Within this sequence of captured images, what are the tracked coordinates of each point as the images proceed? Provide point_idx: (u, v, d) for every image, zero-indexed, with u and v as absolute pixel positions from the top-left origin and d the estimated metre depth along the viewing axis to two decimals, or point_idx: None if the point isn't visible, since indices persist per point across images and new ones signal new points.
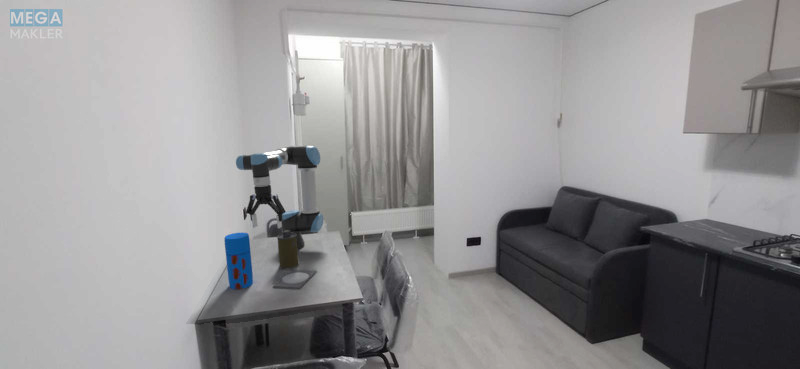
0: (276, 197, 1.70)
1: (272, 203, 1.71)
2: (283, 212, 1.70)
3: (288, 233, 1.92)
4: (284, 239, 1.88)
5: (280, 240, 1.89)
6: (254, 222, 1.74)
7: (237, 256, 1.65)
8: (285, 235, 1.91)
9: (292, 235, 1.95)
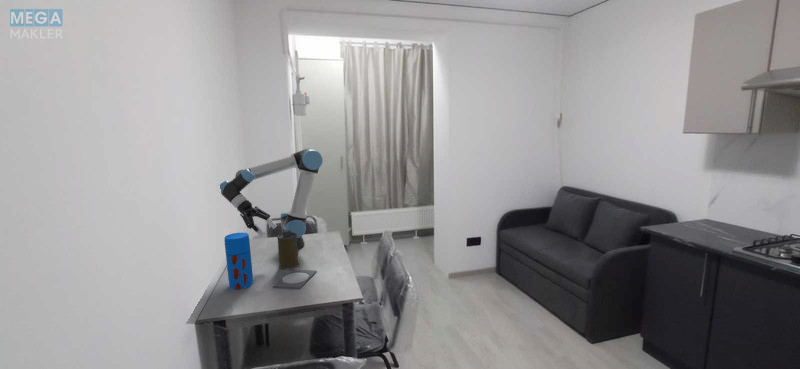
0: (242, 214, 1.88)
1: (249, 217, 1.91)
2: (247, 226, 1.85)
3: (288, 233, 1.92)
4: (284, 239, 1.88)
5: (280, 240, 1.89)
6: (271, 225, 2.01)
7: (237, 256, 1.65)
8: (285, 235, 1.91)
9: (292, 235, 1.95)
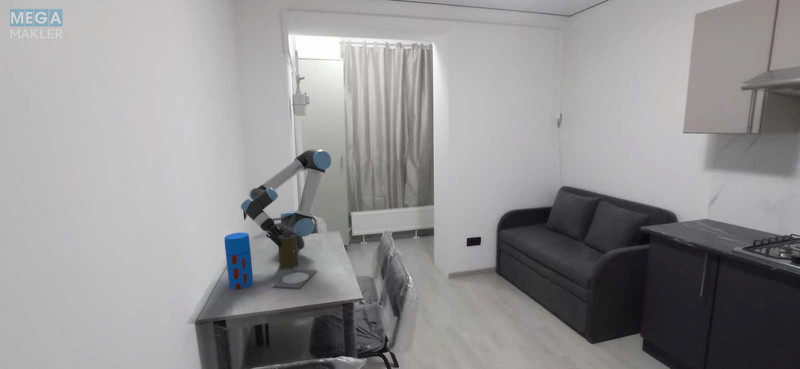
0: (268, 235, 1.88)
1: (275, 236, 1.92)
2: (278, 245, 1.89)
3: (288, 233, 1.92)
4: (284, 239, 1.89)
5: (280, 240, 1.89)
6: None
7: (237, 256, 1.65)
8: (285, 235, 1.92)
9: (292, 235, 1.95)
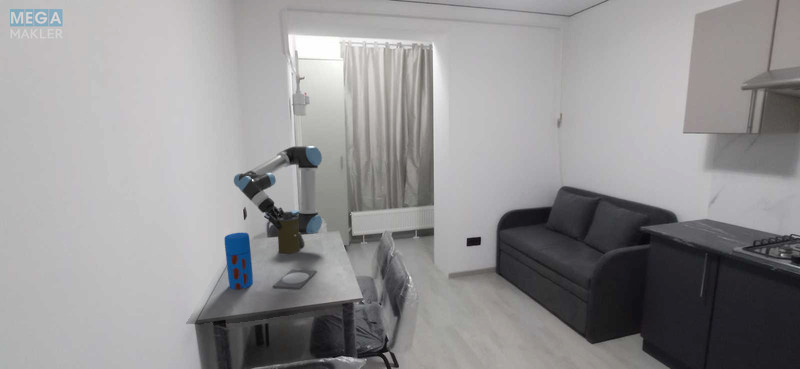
0: (267, 216, 1.69)
1: (274, 218, 1.72)
2: (278, 228, 1.70)
3: (289, 215, 1.73)
4: (284, 221, 1.69)
5: (280, 222, 1.70)
6: None
7: (237, 256, 1.65)
8: (286, 217, 1.72)
9: (293, 217, 1.75)
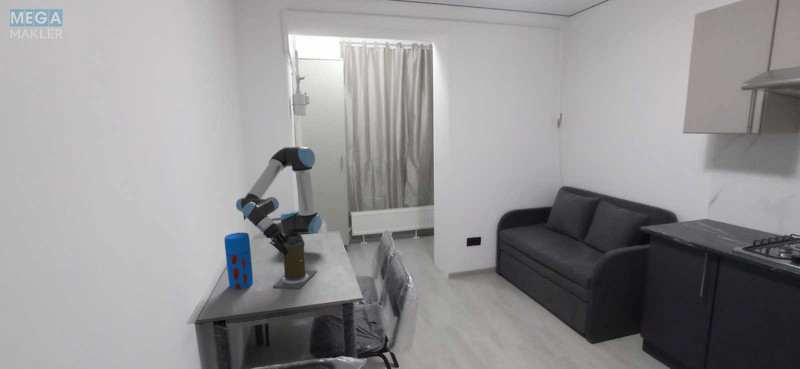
0: (273, 243, 1.69)
1: (280, 243, 1.73)
2: (284, 254, 1.70)
3: (294, 240, 1.73)
4: (290, 247, 1.70)
5: (286, 248, 1.71)
6: None
7: (237, 256, 1.65)
8: (291, 242, 1.73)
9: (299, 242, 1.76)
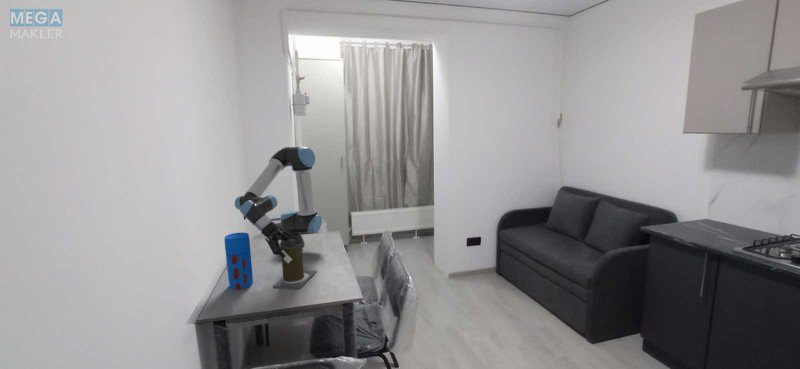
0: (267, 239, 1.69)
1: (274, 242, 1.71)
2: (274, 253, 1.66)
3: (292, 242, 1.74)
4: (288, 249, 1.70)
5: (284, 250, 1.71)
6: None
7: (237, 256, 1.65)
8: (289, 244, 1.73)
9: (297, 244, 1.77)
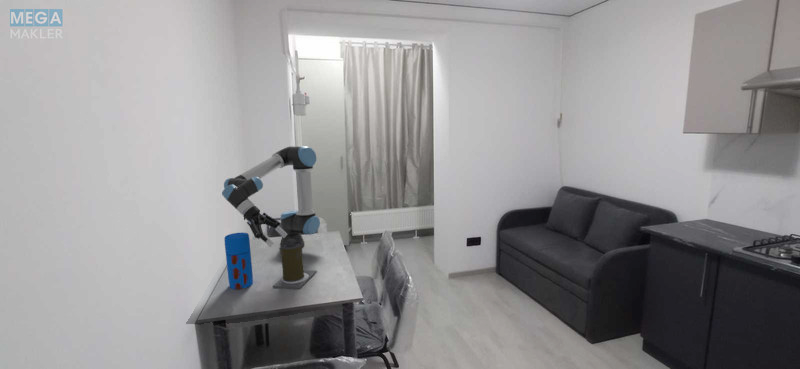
0: (249, 222, 1.68)
1: (257, 225, 1.71)
2: (255, 236, 1.65)
3: (292, 242, 1.74)
4: (288, 249, 1.70)
5: (284, 250, 1.71)
6: (281, 233, 1.81)
7: (237, 256, 1.65)
8: (289, 244, 1.73)
9: (297, 244, 1.77)
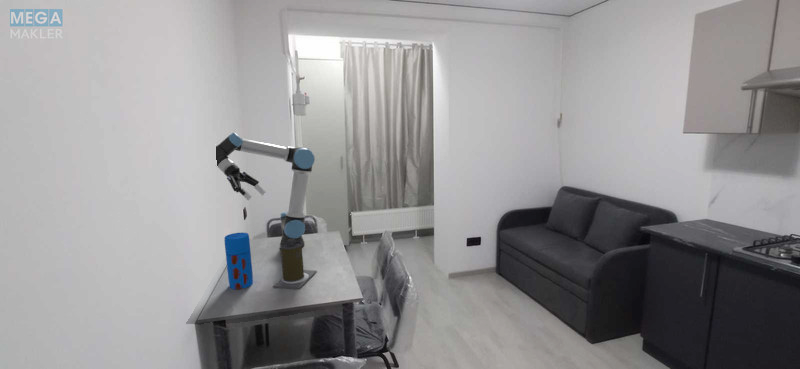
0: (229, 178, 1.84)
1: (236, 181, 1.86)
2: (234, 190, 1.81)
3: (292, 242, 1.74)
4: (288, 249, 1.70)
5: (284, 250, 1.71)
6: (259, 191, 1.97)
7: (237, 256, 1.65)
8: (289, 244, 1.73)
9: (297, 244, 1.77)
